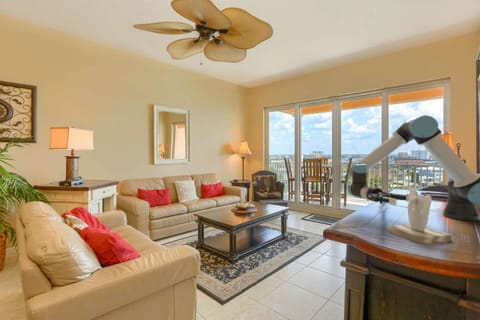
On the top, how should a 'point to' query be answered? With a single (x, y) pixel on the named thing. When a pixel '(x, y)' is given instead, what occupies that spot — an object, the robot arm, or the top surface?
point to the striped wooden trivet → (420, 234)
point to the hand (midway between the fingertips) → (407, 201)
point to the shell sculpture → (418, 210)
